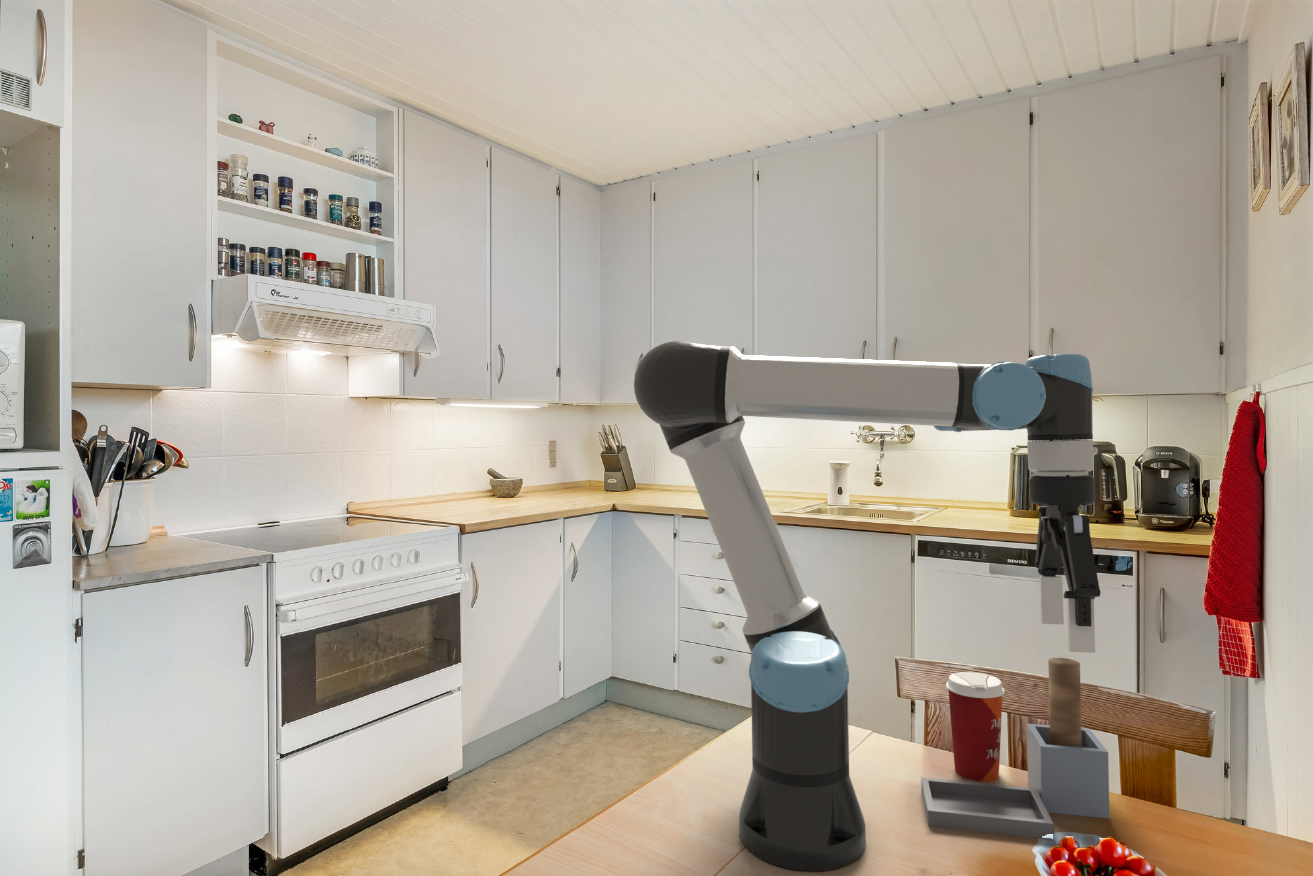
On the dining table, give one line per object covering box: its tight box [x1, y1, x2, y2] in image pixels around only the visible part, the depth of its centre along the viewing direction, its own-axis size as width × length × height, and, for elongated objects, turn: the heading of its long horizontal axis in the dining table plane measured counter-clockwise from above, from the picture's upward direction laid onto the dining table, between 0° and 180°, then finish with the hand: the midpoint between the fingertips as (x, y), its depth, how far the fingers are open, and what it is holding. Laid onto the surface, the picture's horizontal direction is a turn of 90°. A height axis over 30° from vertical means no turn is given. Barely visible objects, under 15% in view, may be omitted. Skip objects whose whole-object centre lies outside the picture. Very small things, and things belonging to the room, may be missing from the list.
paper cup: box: [945, 671, 1006, 783], centre depth 103 cm, size 8×8×14 cm
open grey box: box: [1026, 723, 1110, 820], centre depth 95 cm, size 8×8×9 cm
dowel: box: [1047, 657, 1082, 747], centre depth 95 cm, size 4×4×18 cm
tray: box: [920, 777, 1055, 839], centre depth 92 cm, size 14×9×3 cm, turn 75°
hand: (1066, 636), depth 95 cm, fingers open, 13 cm apart
